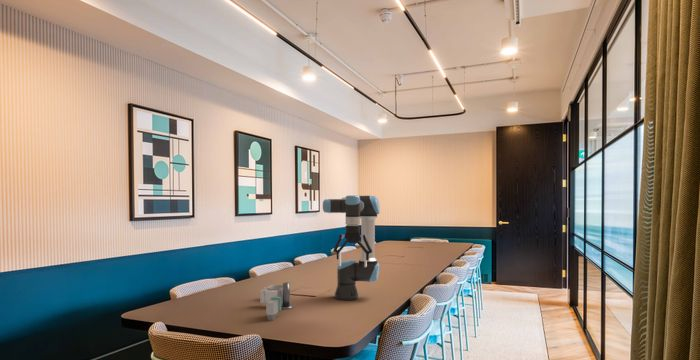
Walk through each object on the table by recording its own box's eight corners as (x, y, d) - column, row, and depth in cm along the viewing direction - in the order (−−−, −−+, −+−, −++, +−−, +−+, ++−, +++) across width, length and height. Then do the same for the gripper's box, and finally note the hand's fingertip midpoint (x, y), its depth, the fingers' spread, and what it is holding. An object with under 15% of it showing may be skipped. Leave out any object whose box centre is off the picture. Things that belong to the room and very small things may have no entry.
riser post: (281, 305, 238) (281, 281, 238) (294, 306, 236) (295, 281, 237) (277, 309, 230) (277, 284, 231) (290, 309, 229) (290, 284, 229)
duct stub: (272, 315, 218) (272, 296, 219) (281, 315, 217) (281, 296, 218) (265, 320, 208) (265, 301, 208) (274, 321, 207) (274, 301, 208)
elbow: (283, 304, 236) (283, 288, 237) (280, 306, 231) (280, 290, 232) (263, 303, 238) (263, 288, 239) (260, 305, 233) (260, 289, 234)
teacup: (286, 297, 258) (287, 284, 258) (282, 301, 247) (282, 288, 248) (265, 296, 259) (265, 284, 260) (260, 301, 249) (260, 287, 249)
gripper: (327, 225, 209) (327, 266, 208) (375, 225, 205) (375, 268, 204) (331, 224, 217) (330, 264, 216) (377, 224, 212) (377, 265, 211)
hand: (352, 266), depth 210 cm, fingers open, 13 cm apart
